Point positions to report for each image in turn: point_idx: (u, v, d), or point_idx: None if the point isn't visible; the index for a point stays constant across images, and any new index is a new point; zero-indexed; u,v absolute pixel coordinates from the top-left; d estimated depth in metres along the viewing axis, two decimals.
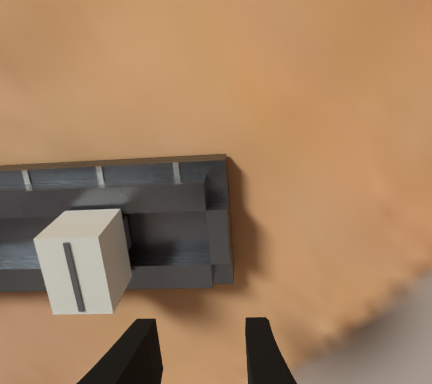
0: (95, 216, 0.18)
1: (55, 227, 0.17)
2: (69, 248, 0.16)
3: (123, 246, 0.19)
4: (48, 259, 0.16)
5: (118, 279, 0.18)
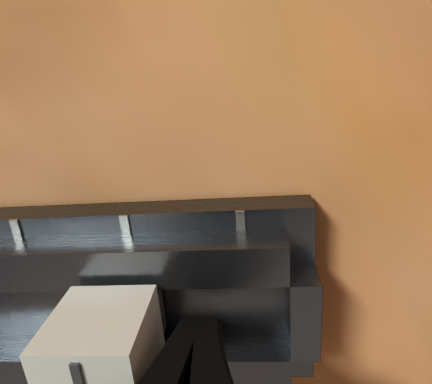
0: (119, 301, 0.11)
1: (56, 326, 0.10)
2: (79, 371, 0.09)
3: (160, 341, 0.12)
4: None
5: None
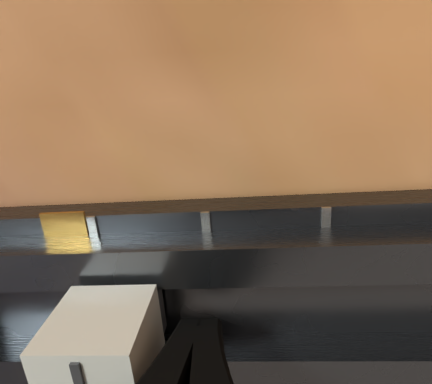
0: (119, 301, 0.11)
1: (56, 326, 0.10)
2: (80, 370, 0.09)
3: (160, 340, 0.12)
4: None
5: None
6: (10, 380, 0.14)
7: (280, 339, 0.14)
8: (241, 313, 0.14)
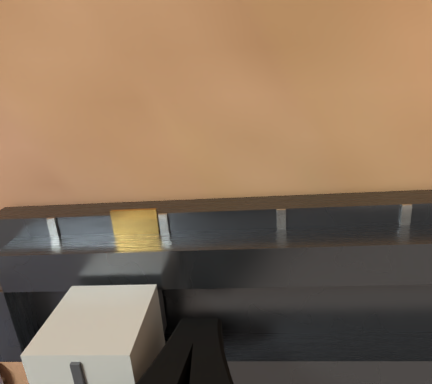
0: (119, 301, 0.11)
1: (57, 326, 0.10)
2: (80, 370, 0.10)
3: (160, 340, 0.12)
4: None
5: None
6: None
7: (350, 339, 0.14)
8: (310, 313, 0.14)
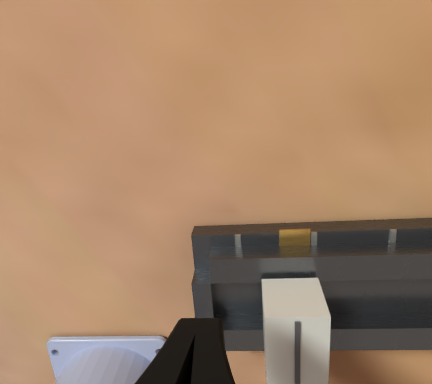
0: (301, 287, 0.18)
1: (273, 302, 0.17)
2: (298, 326, 0.16)
3: None
4: (274, 336, 0.17)
5: None
6: (247, 343, 0.21)
7: None
8: (405, 297, 0.21)
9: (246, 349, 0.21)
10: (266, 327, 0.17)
